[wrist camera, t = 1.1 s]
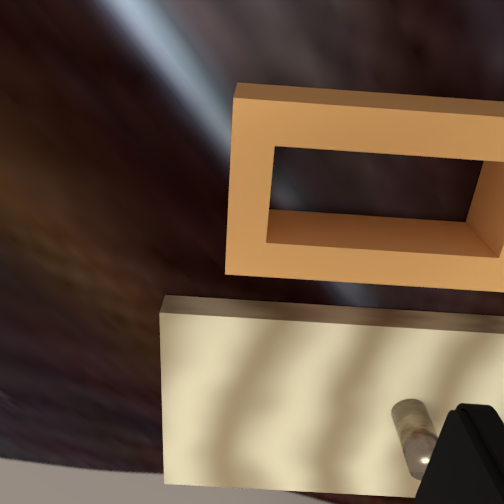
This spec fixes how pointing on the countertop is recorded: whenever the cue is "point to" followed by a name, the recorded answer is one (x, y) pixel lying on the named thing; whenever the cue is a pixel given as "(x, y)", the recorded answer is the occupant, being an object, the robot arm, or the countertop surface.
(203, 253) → the countertop surface
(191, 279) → the countertop surface
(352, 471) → the backing board
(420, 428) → the round metal post
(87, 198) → the countertop surface
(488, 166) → the orange rectangular frame
